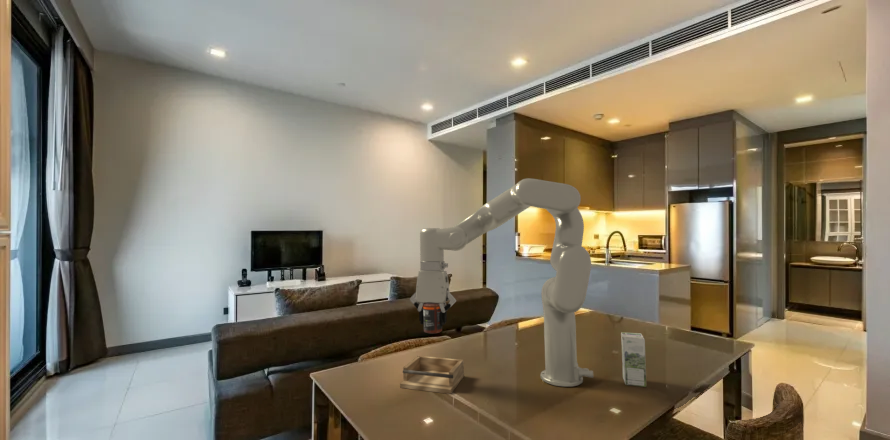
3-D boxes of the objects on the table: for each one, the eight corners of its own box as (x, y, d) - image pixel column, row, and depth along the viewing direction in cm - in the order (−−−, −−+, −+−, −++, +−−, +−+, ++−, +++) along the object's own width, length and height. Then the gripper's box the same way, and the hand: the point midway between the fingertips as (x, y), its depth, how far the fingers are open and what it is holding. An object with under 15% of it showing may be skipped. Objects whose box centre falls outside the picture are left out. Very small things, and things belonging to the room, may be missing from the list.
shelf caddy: (463, 376, 117) (463, 359, 117) (450, 393, 104) (450, 375, 104) (418, 371, 122) (417, 355, 122) (400, 387, 109) (399, 369, 109)
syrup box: (643, 380, 111) (641, 332, 112) (647, 387, 106) (644, 337, 106) (622, 378, 113) (620, 331, 114) (625, 385, 108) (623, 336, 108)
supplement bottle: (443, 329, 117) (442, 294, 118) (441, 334, 111) (440, 297, 112) (425, 329, 118) (424, 294, 118) (422, 334, 112) (421, 297, 112)
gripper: (461, 266, 116) (462, 323, 115) (412, 265, 122) (412, 320, 121) (454, 268, 109) (455, 328, 108) (402, 267, 115) (403, 325, 114)
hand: (432, 323), depth 115 cm, fingers closed on supplement bottle, 6 cm apart
